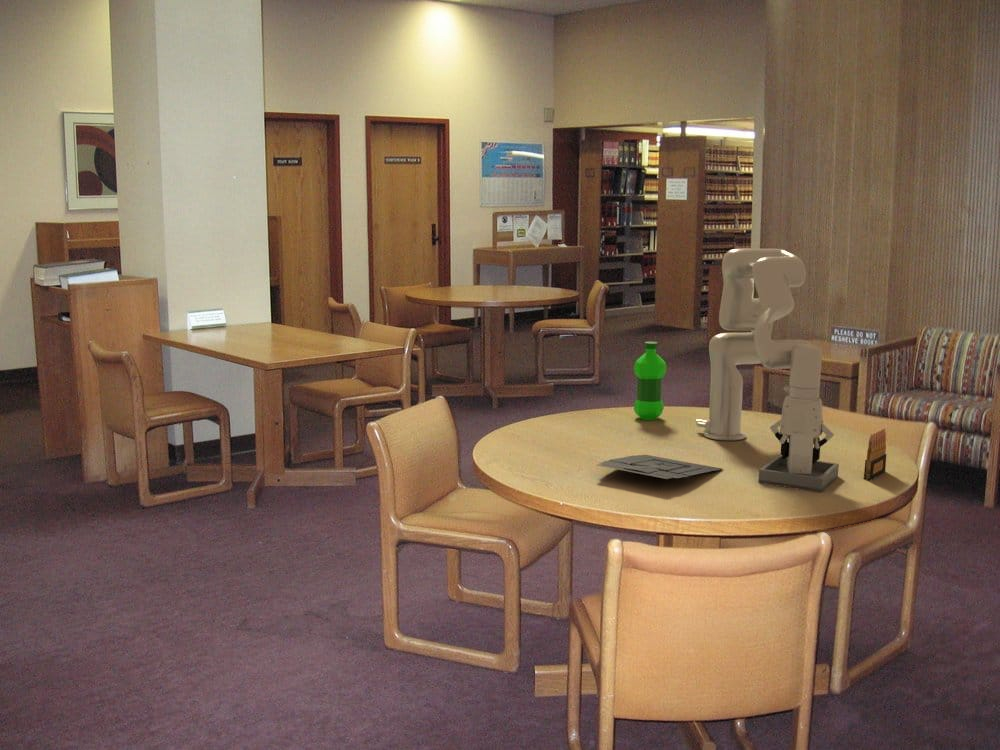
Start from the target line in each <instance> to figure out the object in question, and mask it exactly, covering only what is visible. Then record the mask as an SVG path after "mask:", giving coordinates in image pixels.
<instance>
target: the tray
mask: <svg viewBox="0 0 1000 750" xmlns="http://www.w3.org/2000/svg"><path fill="white" fill-rule="evenodd" d="M787 460H788V457H787V458H786V459H782V455H781V454H778V455H776V456H775V457H774V458H773V459H771V460H769V462H767V463H766V464H764V465H763V466H762V467H760V469H759V470H758V484H759V483H760V484H763V483H764V485H770V484H771V486H776V485H779V486H778V487H783V486H785V487H784V488H789V487H791V488H790V489H795V488H798V489H797V490H802V489H805V490H804V491H808V490H811V491H810V492H815V491H818V492H817V493H821V492H822V491H823V490H824V489H825V488H826V487H827V486H828V485H829V486H830V485H831V484H832V483H833V482H834V481H835V480H836V479H837V478H838V477H839V469H840V468H839V466H840V463H836V462H830V461H824V460H823V461H822V460H817V462H816V463H815V464H814V463H812V472H811V474H796V473H789V469H788V466H787ZM829 486H828V487H829ZM828 487H827V488H828ZM827 488H826V489H827ZM826 489H825V490H826ZM825 490H824V491H825ZM824 491H823V492H824ZM823 492H822V493H823Z"/></svg>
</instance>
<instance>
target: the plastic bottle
mask: <svg viewBox="0 0 1000 750" xmlns="http://www.w3.org/2000/svg"><path fill="white" fill-rule="evenodd" d="M658 345H659V344H658V342H657V341H644V347H643V349H645V353H643V354H642V355H641V356H640V357H639V358H638V359H637V360H636V361H635V363H634V365H633V371H634V375H635V376H636V378H637V389H636V390H637V391H636V400H635V402H634V405H633V410H634V413H635V414H636V415H637V416H638V417H639V418H640V420H645V421H654V420H657V419H658V418H659V417H660V416H661V415H662V414H663V411H664V402H663V400H662V384H663V383H662V382H663V380H662V379H663V378H664V377H665V375H666V371H667V365H666V363H667V362H666V361H665V360H664V359H663V358H662V357H661V356H660V355H659V354H657V353H656V351H657V349H658Z"/></svg>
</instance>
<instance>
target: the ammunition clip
mask: <svg viewBox="0 0 1000 750" xmlns="http://www.w3.org/2000/svg"><path fill="white" fill-rule="evenodd" d="M886 441H887V433H886V429H885V428H883V429H881V430H878V431H876V432H875V433H873V434H871V435H870V436H869V439H868V446H867V451H866V459H865V461H864V473H863V480H866V479H868V480H867V481H872V480H874V479H876V478H878V477H879V476H881V475H882V474H884V473H886V468H887V467H886V465H887V453H886V452H887V443H886ZM875 477H876V478H875Z"/></svg>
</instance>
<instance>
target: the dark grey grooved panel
mask: <svg viewBox="0 0 1000 750" xmlns="http://www.w3.org/2000/svg"><path fill="white" fill-rule="evenodd" d="M596 466H597V467H598V466H599V467H604V468H609V469H613V470H619V471H625V472H628V473H629V472H630V473H635V474H640V475H645V476H651V477H655V478H661V479H665V480H669V479H673V478H674V479H680V478H688V477H692V476H695V475H699V474H704V473H709V472H712V471H713V472H715V471H720V470H724V468H722V467H717V466H710V465H704V464H699V463H694V462H688V461H687V462H686V461H681V460H677V459H670V458H665V457H660V456H655V455H651V454H641V455H640V454H639V455H630V456H629V455H628V456H623V457H618V458H612V459H609V460H603V461H602V462H599V463H598V464H596Z"/></svg>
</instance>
